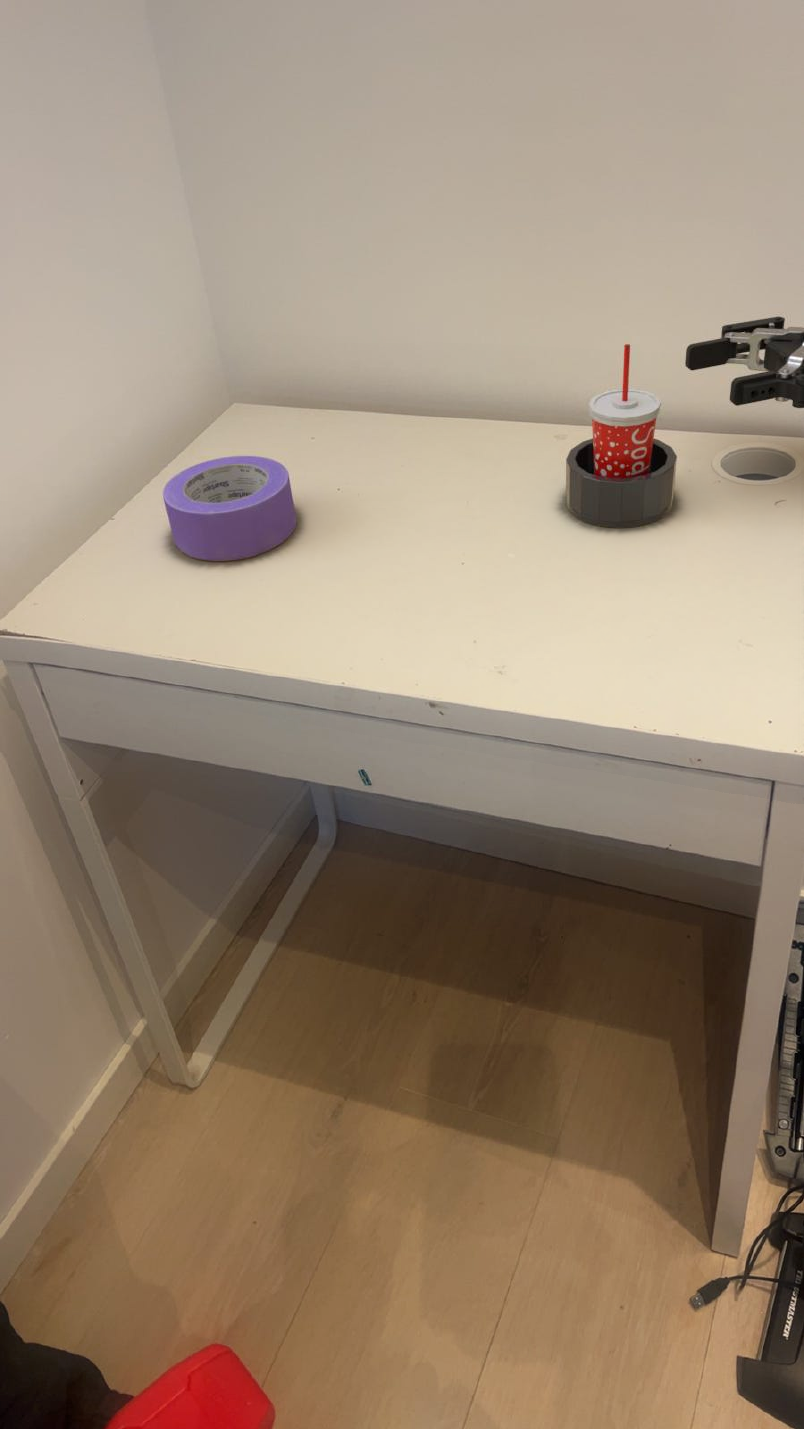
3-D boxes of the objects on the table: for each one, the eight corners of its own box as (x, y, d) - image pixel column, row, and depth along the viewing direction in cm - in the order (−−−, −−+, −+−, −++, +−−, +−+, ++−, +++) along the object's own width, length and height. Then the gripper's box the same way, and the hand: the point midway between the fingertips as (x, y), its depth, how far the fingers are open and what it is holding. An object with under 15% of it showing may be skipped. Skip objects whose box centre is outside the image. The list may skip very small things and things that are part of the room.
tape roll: (228, 492, 105) (218, 446, 102) (321, 513, 100) (313, 465, 97) (149, 547, 98) (135, 499, 95) (244, 573, 92) (233, 523, 89)
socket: (657, 473, 100) (660, 429, 97) (684, 521, 92) (689, 475, 90) (558, 484, 100) (558, 440, 97) (577, 533, 92) (578, 487, 90)
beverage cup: (602, 517, 93) (606, 364, 84) (577, 488, 98) (579, 339, 89) (665, 504, 94) (677, 350, 85) (638, 475, 98) (646, 327, 90)
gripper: (840, 275, 96) (676, 306, 94) (938, 324, 85) (754, 360, 83) (827, 356, 100) (670, 387, 98) (918, 412, 89) (743, 448, 87)
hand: (709, 375), depth 91 cm, fingers open, 8 cm apart
